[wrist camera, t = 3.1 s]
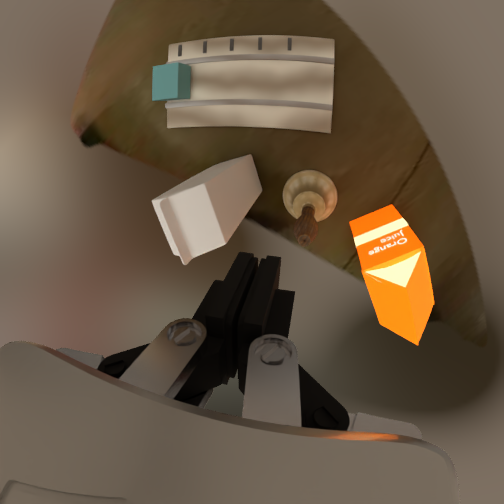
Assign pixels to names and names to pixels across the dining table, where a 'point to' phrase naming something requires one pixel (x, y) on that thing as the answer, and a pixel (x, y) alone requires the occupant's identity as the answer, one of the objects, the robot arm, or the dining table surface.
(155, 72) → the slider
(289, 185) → the hand bell
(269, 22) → the dining table surface
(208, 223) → the milk
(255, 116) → the count board
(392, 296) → the orange juice
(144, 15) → the dining table surface
